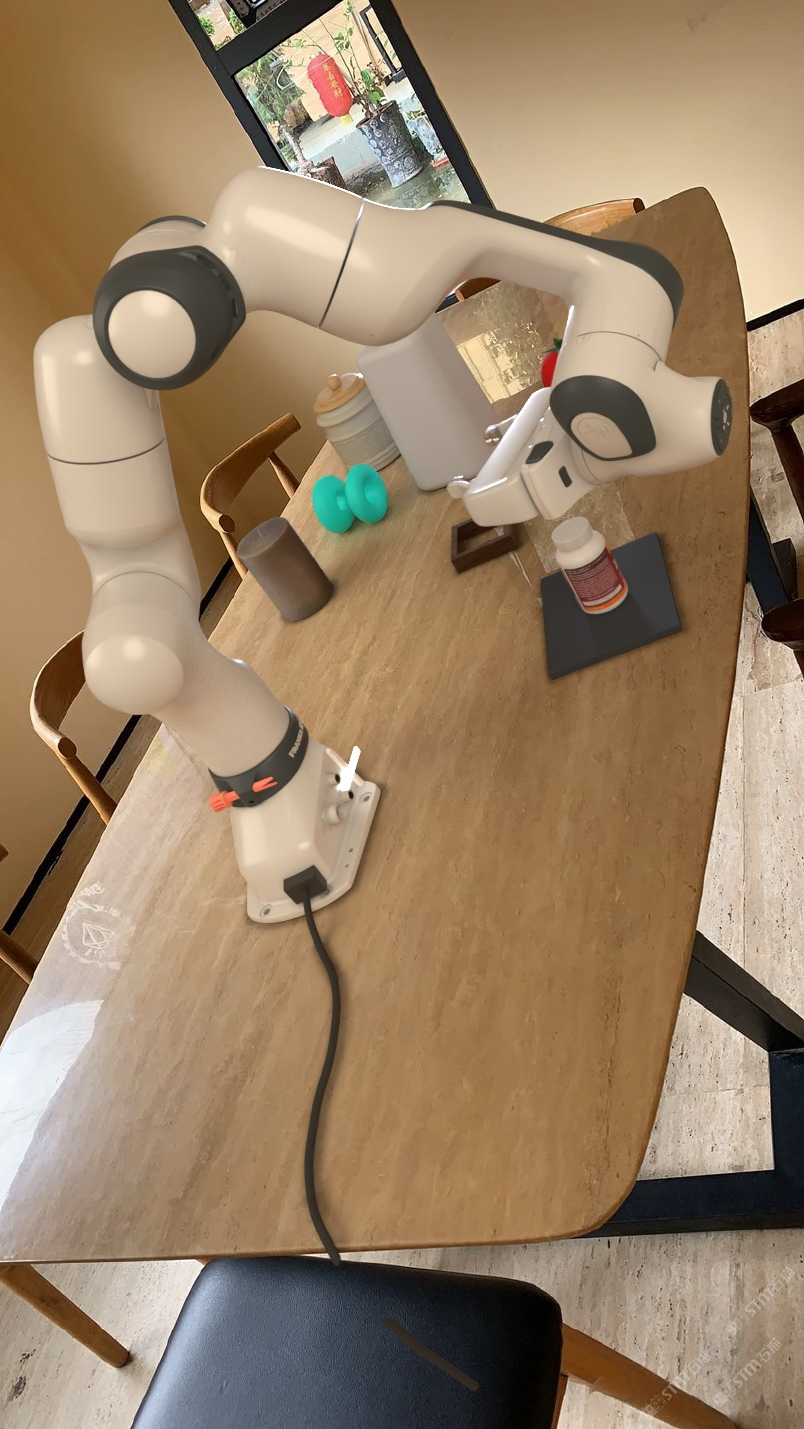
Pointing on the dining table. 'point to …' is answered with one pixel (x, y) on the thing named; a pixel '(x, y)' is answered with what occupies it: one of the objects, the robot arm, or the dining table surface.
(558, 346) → the tomato
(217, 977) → the dining table surface
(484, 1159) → the dining table surface
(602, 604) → the pill bottle
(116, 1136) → the dining table surface
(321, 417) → the jar
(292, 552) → the pillar candle
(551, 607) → the mat
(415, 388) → the plastic bottle
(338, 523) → the teal spool
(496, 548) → the frame
